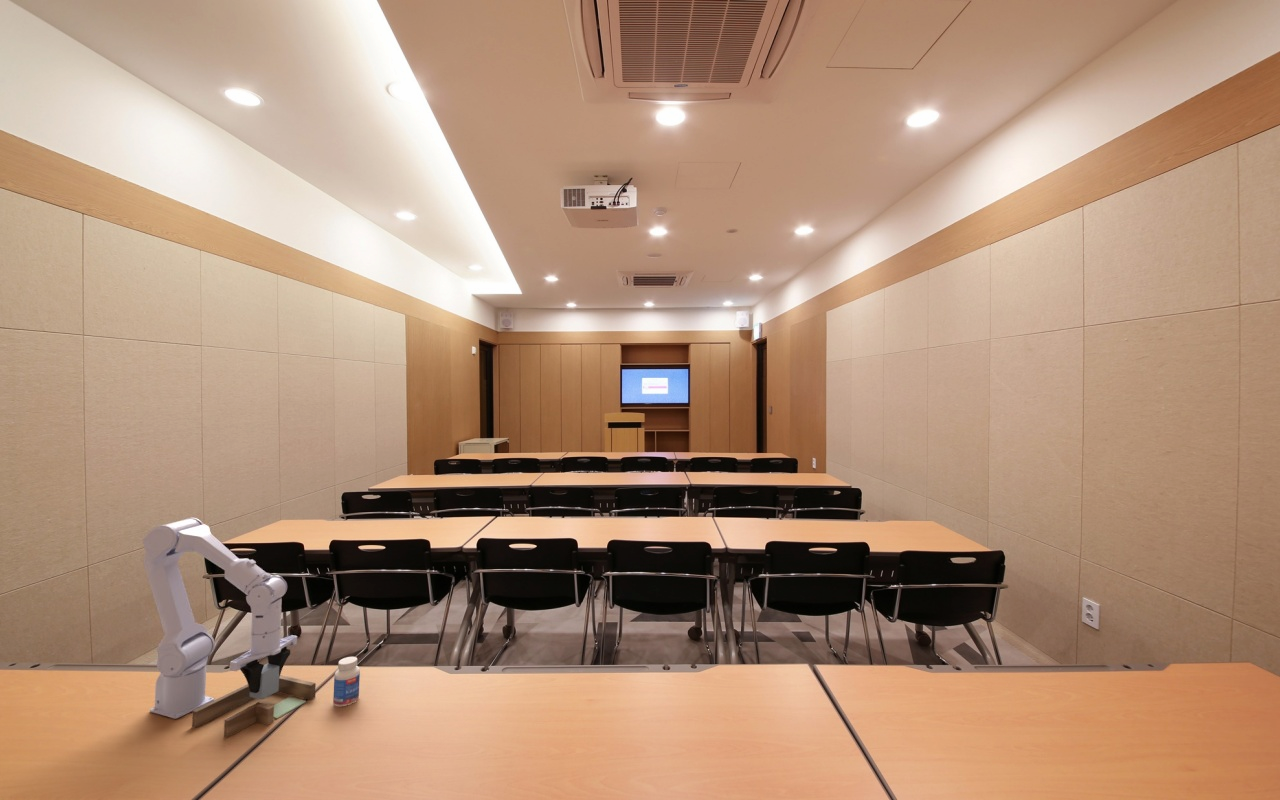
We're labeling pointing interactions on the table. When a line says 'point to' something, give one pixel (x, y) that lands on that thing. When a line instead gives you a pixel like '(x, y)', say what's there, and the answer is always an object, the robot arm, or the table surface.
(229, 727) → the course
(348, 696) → the pill bottle
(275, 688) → the block
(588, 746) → the table surface
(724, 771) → the table surface
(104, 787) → the table surface
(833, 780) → the table surface
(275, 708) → the pad
